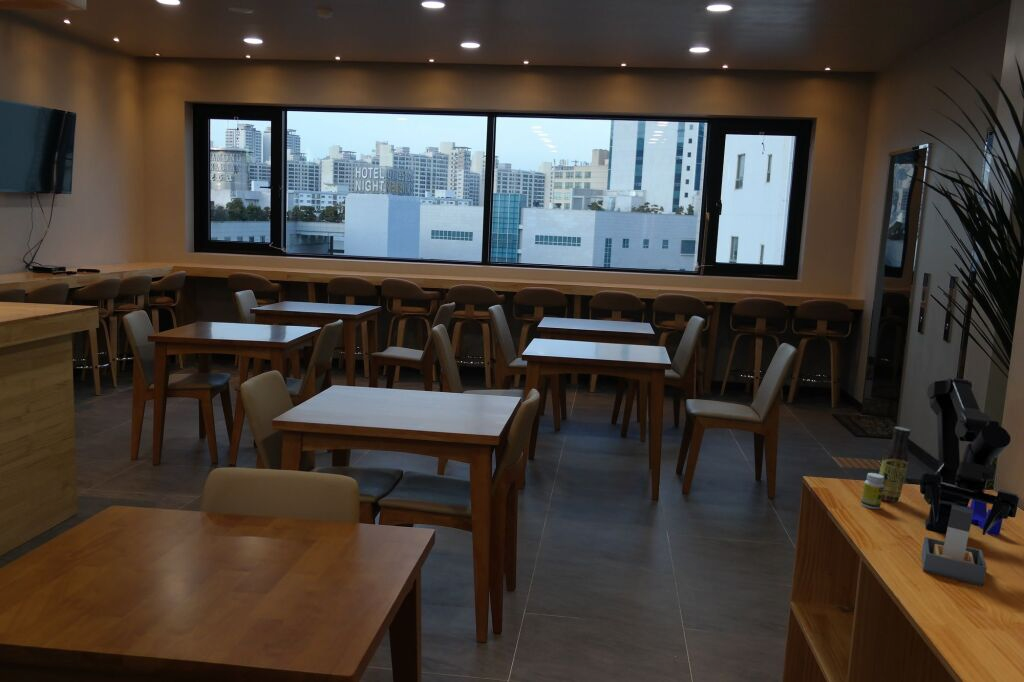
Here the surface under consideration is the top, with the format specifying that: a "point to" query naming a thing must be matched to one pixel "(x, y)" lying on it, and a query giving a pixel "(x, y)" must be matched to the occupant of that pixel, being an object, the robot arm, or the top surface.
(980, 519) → the cable clip
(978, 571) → the walled box
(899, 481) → the sauce bottle
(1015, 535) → the top surface
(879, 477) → the supplement bottle
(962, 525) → the plug
